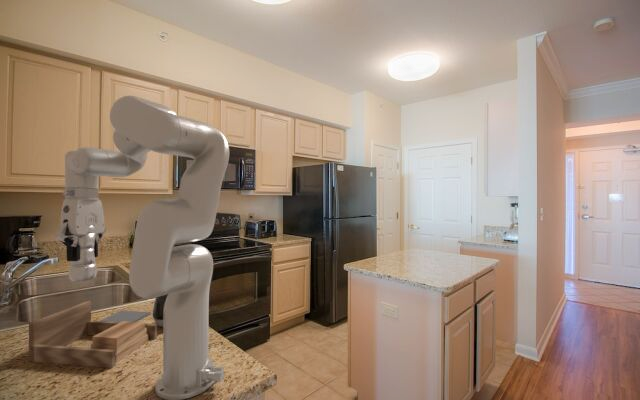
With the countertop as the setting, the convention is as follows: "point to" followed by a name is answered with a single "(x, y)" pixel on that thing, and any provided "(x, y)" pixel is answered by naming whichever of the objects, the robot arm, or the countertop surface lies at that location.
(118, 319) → the mat
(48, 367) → the countertop surface
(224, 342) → the countertop surface
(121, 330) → the offcut stack
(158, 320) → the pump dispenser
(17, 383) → the countertop surface
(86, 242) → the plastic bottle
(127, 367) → the countertop surface
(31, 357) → the rack
